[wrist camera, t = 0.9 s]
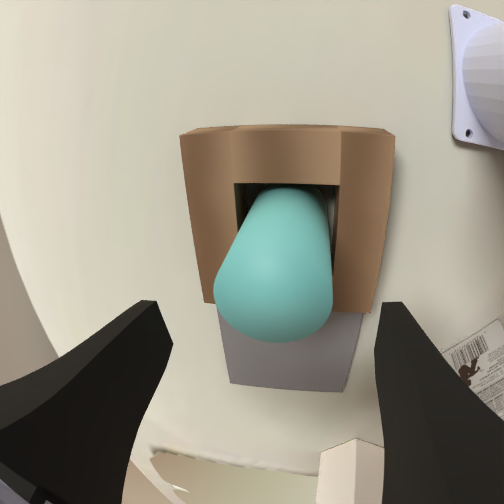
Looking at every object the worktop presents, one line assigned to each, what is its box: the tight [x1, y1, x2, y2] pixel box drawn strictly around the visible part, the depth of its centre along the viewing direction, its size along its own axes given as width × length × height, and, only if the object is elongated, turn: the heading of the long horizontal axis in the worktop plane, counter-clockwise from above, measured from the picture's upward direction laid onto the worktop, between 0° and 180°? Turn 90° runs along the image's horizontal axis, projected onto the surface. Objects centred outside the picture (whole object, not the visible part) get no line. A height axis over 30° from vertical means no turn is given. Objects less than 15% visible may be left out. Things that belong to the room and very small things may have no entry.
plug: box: [213, 183, 333, 343], centre depth 14 cm, size 4×4×8 cm
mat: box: [217, 308, 363, 392], centre depth 23 cm, size 10×10×1 cm
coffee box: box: [441, 319, 504, 420], centre depth 14 cm, size 9×6×16 cm
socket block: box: [179, 125, 395, 313], centre depth 16 cm, size 10×10×2 cm
